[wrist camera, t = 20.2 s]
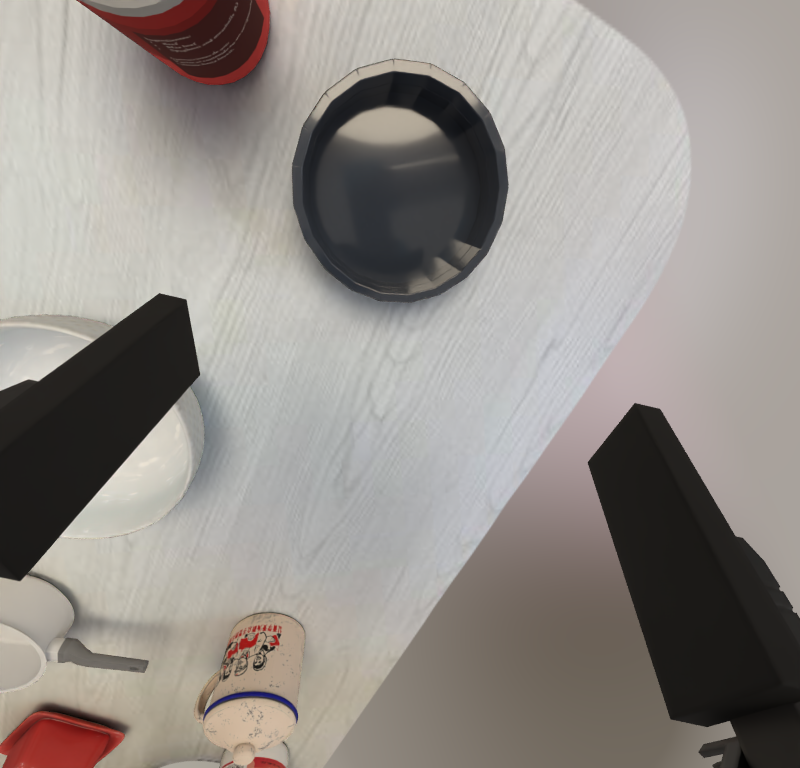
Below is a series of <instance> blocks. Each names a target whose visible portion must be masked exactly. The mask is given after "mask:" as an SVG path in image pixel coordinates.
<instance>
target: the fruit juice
mask: <svg viewBox="0 0 800 768" xmlns="http://www.w3.org/2000/svg"><path fill="white" fill-rule="evenodd" d="M232 757H233V753H232V752H230V751H228V750H227V749H226V751H225V752H224V754H223V757H222V760H221V763H220V767H219V768H287V767H288V749H287V747H286V746H285V745H284V744H283V743H280V744H278V745H276V746H274V747H271V748H268V749H264V750H262V751H260V752H258V753H255V757H254V760H253V761H252V762H251V763H250V764H248V765H243V766H241V765H236V764H235V763H234V762H233V759H232Z"/></svg>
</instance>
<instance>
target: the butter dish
mask: <svg viewBox="0 0 800 768" xmlns="http://www.w3.org/2000/svg"><path fill="white" fill-rule="evenodd" d="M124 737H125V735H124V734H123V733H122V732H120V731H117V730H114V729H110V728H108V727H106V726H103V725H100V724H97V723H93V722H90V721H86V720H82V719H79V718H75V717H72V716H68V715H65V714H61V713H57V712H47V711H38V712H35V713H33V714H32V715H30V716H29V717H28V718H27V719H25V720H24V721H23V722H22V723H21V724H20V725H19V726H18V727H17V728H16V729H15V730H14V731H13V732H12V733H11V734H10V735H9V736H8V737H7V738H6V739H5V740H4V741H3V742H2V743H1V745H0V753H2V754H4V755H8V756H7V758H6V761H5V763H4V765H3V767H2V768H94V766H95V764H96V763H98V762H99V761H100V760H101V759H103V758H104V757H105V756H106V755H107V754H109V753H110V752H111V751H112V750H113V749H114V748H115V747H117V746H118V745H119V744H120V743H121V742H122V740H123V739H124Z"/></svg>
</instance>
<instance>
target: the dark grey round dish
mask: <svg viewBox="0 0 800 768" xmlns="http://www.w3.org/2000/svg"><path fill="white" fill-rule="evenodd" d="M292 183H293V204H294V205H293V206H294V209H295V212H296V215H297V218H298V221H299V224H300V227H301V230H302V233H303V236H304V239H305V241H306V243H307V244H308V245H309V247H310V248H311V250H312V251H313V253H314V254H315V256H316V257H317V259H318V260H319V262H320V263H321V264H322V266H323V267H324V269H325V270H326V271H328V272H329V273H330V274H331V275H333V276H334V277H335V278H336V279H338V280H339V281H340V282H341V283H343V284H344V285H345V286H346V287H348V288H349V289H351V290H352V291H355V292H357V293H360V294H363V295H365V296H368V297H370V298H373V299H375V300H378V301H387V302H404V303H409V302H410V303H411V302H415V301H419V300H423V299H426V298H430V297H434V296H438V295H440V294H442V293H443V292H445V291H447V290H448V289H450V288H451V287H453V286H455V285H456V284H458V283H459V282H461V281H463V280H464V279H465V278H467V277H468V275H469V274H470V273H471V272H472V271H473V270H474V269H475V267H476V266H477V265H478V264H479V263H480V262H481V261H482V259H483V258H484V257H485V256H486V255H487V253H488V251H489V249H490V247H491V245H492V243H493V241H494V239H495V237H496V235H497V233H498V230H499V228H500V226H501V224H502V221H503V215H504V210H505V204H506V198H507V192H508V176H507V166H506V156H505V149H504V145H503V143H502V140H501V138H500V135H499V133H498V131H497V128H496V126H495V123H494V121H493V118H492V116H491V113H489V111H488V109H487V108H486V107H485V106H484V105H483V103H482V102H481V101H480V100H479V99H478V98H477V96H476V95H475V94H474V93H473V92H472V91H471V89H470V88H469V87H468V86H467V85H466V84H465V83H464V82H463V81H461V80H460V79H458V78H456V77H454V76H453V75H451V74H449V73H447V72H445V71H444V70H442V69H440V68H438V67H437V66H435V65H433V64H431V63H424V62H417V61H409V60H402V59H390V60H386V61H382V62H378V63H375V64H371V65H367V66H364V67H360V68H357V70H356V69H355V70H354V71H352V72H351V73H350V74H348V75H347V76H346V77H344V78H343V79H342V80H340V81H339V82H338V83H336V84H335V85H334V86H332V87H331V88H330V89H328V90H327V91H326V92H325V93H324V94H323V95H322V97H321V98H320V100H319V102H318V103H317V105H316V106H315V108H314V109H313V111H312V112H311V114H310V115H309V117H308V118H307V120H306V121H305V123H304V125H303V127H302V130H301V133H300V137H299V141H298V145H297V148H296V152H295V156H294V160H293V163H292Z"/></svg>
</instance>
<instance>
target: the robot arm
mask: <svg viewBox="0 0 800 768" xmlns="http://www.w3.org/2000/svg"><path fill="white" fill-rule="evenodd" d="M199 375H200V371H199V366H198V360H197V355H196V349H195V344H194V339H193V333H192V328H191V322H190V317H189V311H188V306H187V300H186V299H182V298H177V297H173V296H169V295H164V294H160V293H159V294H158V295H156V296H155V297H154V298H152V299H151V300H150V301H148V302H147V303H145V304H144V305H143V306H141V307H140V308H139V309H137V310H136V311H134V312H133V313H132V314H130V315H129V316H128V317H126V318H125V319H123V320H122V321H121V322H119V323H118V324H117V325H115V326H114V327H112V328H111V329H110V330H108V331H107V332H106V333H104V334H103V335H101V336H100V337H99V338H97V339H96V340H95V341H93V342H92V343H90V344H89V345H88V346H86V347H85V348H84V349H82V350H81V351H79V352H78V353H77V354H75V355H74V356H73V357H71V358H70V359H68V360H67V361H66V362H64V363H63V364H62V365H60V366H59V367H57V368H56V369H55V370H53V371H52V372H51V373H49V374H48V375H46V376H45V377H44V378H42V379H41V380H40V381H34V380H30V379H28V380H25V381H23V382H21V383H18V384H16V385H13V386H11V387H8V388H6V389H4V390H1V391H0V577H1V578H6V579H10V580H15V581H21V580H22V579H23V578H24V577H25V576H26V575H27V573H28V572H29V571H30V570H31V569H32V568H33V566H34V565H35V564H36V563H37V562H38V561H39V560H40V558H41V557H42V556H43V555H44V554H45V553H46V552H47V550H48V549H49V548H50V547H51V546H52V545H53V543H54V542H55V541H56V540H57V539H58V538H59V537H60V535H61V534H62V533H63V532H64V531H65V530H66V529H67V527H68V526H69V525H70V524H71V523H72V522H73V520H74V519H75V518H76V517H77V516H78V515H79V514H80V512H81V511H82V510H83V509H84V508H85V507H86V505H87V504H88V503H89V502H90V501H91V500H92V499H93V497H94V496H95V495H96V494H97V493H98V492H99V491H100V489H101V488H102V487H103V486H104V485H105V484H106V482H107V481H108V480H109V479H110V478H111V477H112V476H113V474H114V473H115V472H116V471H117V470H118V469H119V468H120V466H121V465H122V464H123V463H124V462H125V461H126V459H127V458H128V457H129V456H130V455H131V454H132V453H133V451H134V450H135V449H136V448H137V447H138V446H139V445H140V443H141V442H142V441H143V440H144V439H145V438H146V436H147V435H148V434H149V433H150V432H151V431H152V430H153V428H154V427H155V426H156V425H157V424H158V423H159V422H160V420H161V419H162V418H163V417H164V416H165V415H166V413H167V412H168V411H169V410H170V409H171V408H172V407H173V405H174V404H175V403H176V402H177V401H178V400H179V399H180V397H181V396H182V395H183V394H184V393H185V392H186V390H187V389H188V388H189V387H190V386H191V385H192V384H193V382H194V381H195V380H196V379H197V378H198V377H199ZM588 465H589V468H590V471H591V474H592V477H593V480H594V484H595V487H596V490H597V493H598V496H599V499H600V502H601V505H602V509H603V511H604V515H605V517H606V521H607V524H608V527H609V530H610V533H611V536H612V539H613V542H614V546H615V549H616V552H617V555H618V558H619V561H620V564H621V567H622V570H623V573H624V577H625V580H626V583H627V586H628V589H629V592H630V595H631V598H632V601H633V604H634V607H635V611H636V613H637V617H638V620H639V623H640V626H641V629H642V632H643V635H644V638H645V641H646V645H647V648H648V651H649V654H650V657H651V660H652V663H653V666H654V669H655V672H656V676H657V678H658V682H659V685H660V688H661V691H662V694H663V697H664V700H665V703H666V706H667V710H668V713H669V716H670V719H672V720H676V721H681V722H686V723H691V724H695V725H700V726H705V727H709V726H712V725H716V724H720V723H723V722H727V721H730V722H731V724H732V727H733V729H734V731H735V734H736V736H737V737H733V738H728V739H724V740H720V741H716V742H711V743H707V744H704V745H703V746H702V748H701V749H700V751H699V753H700V754H701V755H702V756H703V757H704V758H705V757H711V756H715V755H720V754H723V757H722V761H720V762H717V763H715V764H713V767H714V768H800V618H799V616H798V615H797V613H794V612H793V611H792V608H793V607H792V605H791V604H790V602H789V600H788V598H787V597H786V595H785V594H784V592H783V591H780V590H779V587H780V586H779V584H778V582H777V581H776V579H775V578H774V576H773V574H772V573H771V571H770V569H769V568H768V566H767V565H766V563H765V562H764V560H763V559H762V558H761V557H760V556H759V555H758V554H757V553H756V552H755V551H754V550H753V548H751V546H750V545H749V544H748V543H747V542H746V541H745V540H744V539H743V538H740V537H736V536H735V535H734V533H733V531H732V530H731V528H730V526H729V524H728V523H727V521H726V519H725V518H724V516H723V514H722V513H721V511H720V509H719V508H718V506H717V504H716V503H715V501H714V499H713V497H712V496H711V494H710V493H709V491H708V489H707V487H706V486H705V484H704V482H703V481H702V479H701V477H700V476H699V474H698V472H697V470H696V469H695V467H694V465H693V464H692V462H691V461H690V459H689V457H688V455H687V453H686V452H685V450H684V448H683V447H682V445H681V443H680V442H679V440H678V438H677V437H676V435H675V433H674V431H673V430H672V428H671V426H670V425H669V423H668V421H667V420H666V418H665V416H664V415H663V413H662V411H661V410H660V409H658V408H653V407H649V406H645V405H641V404H636V403H635V404H634V405H633V406H632V407H631V409H630V410H629V411H628V412H627V414H626V415H625V416H624V417H623V419H622V420H621V421H620V422H619V424H618V425H617V426H616V428H615V429H614V430H613V431H612V432H611V434H610V435H609V436H608V438H607V439H606V440H605V441H604V443H603V444H602V445H601V446H600V448H599V449H598V450H597V451H596V453H595V454H594V455H593V456H592V458H591V459H590V460H589V461H588Z"/></svg>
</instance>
